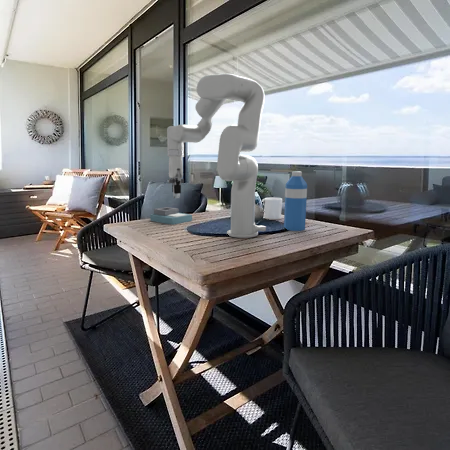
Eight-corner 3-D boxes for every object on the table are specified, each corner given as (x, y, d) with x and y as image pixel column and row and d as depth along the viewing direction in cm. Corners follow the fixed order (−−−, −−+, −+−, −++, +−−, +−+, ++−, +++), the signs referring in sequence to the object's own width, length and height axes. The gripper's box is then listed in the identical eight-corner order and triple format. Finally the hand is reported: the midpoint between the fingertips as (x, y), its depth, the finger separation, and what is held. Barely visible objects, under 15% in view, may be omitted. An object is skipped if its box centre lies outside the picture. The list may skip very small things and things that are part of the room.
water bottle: (281, 229, 147) (283, 171, 142) (286, 225, 156) (288, 170, 151) (303, 231, 144) (306, 172, 139) (306, 227, 152) (309, 171, 147)
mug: (284, 218, 176) (285, 198, 173) (277, 220, 168) (278, 200, 166) (265, 216, 181) (265, 196, 179) (257, 218, 174) (257, 198, 172)
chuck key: (183, 197, 165) (182, 178, 163) (184, 198, 162) (184, 179, 161) (168, 197, 163) (168, 179, 161) (170, 198, 160) (169, 179, 158)
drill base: (192, 220, 168) (192, 209, 166) (172, 224, 158) (172, 213, 157) (168, 216, 179) (167, 206, 177) (148, 220, 169) (147, 209, 168)
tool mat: (187, 215, 165) (187, 214, 165) (176, 217, 160) (176, 216, 160) (178, 214, 169) (178, 213, 169) (167, 215, 163) (167, 215, 163)
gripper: (164, 153, 164) (165, 191, 168) (171, 153, 150) (172, 195, 153) (179, 153, 167) (180, 191, 171) (188, 153, 152) (188, 194, 156)
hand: (176, 192), depth 162 cm, fingers closed on chuck key, 3 cm apart
